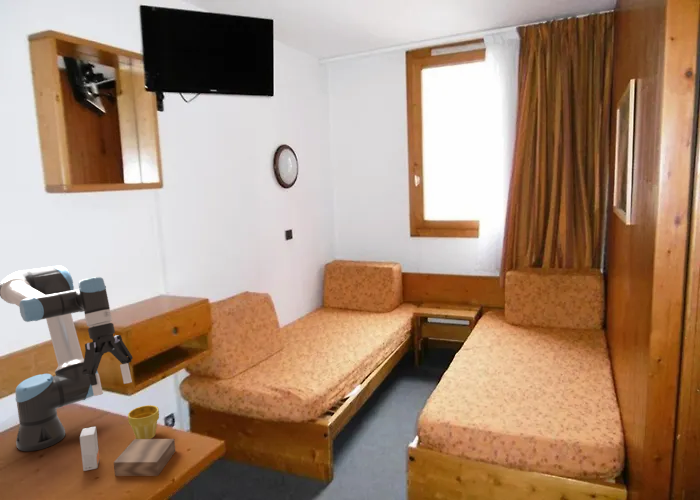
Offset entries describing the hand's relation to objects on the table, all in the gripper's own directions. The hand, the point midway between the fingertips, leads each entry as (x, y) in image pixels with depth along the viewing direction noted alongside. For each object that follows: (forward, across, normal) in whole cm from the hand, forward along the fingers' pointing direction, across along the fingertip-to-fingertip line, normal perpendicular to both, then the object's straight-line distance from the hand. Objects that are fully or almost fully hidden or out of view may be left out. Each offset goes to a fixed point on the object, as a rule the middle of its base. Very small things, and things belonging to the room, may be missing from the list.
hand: (113, 388), depth 161 cm
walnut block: (+27, +6, -2) cm, 28 cm away
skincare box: (+24, +1, +16) cm, 28 cm away
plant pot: (+22, +20, +9) cm, 32 cm away
